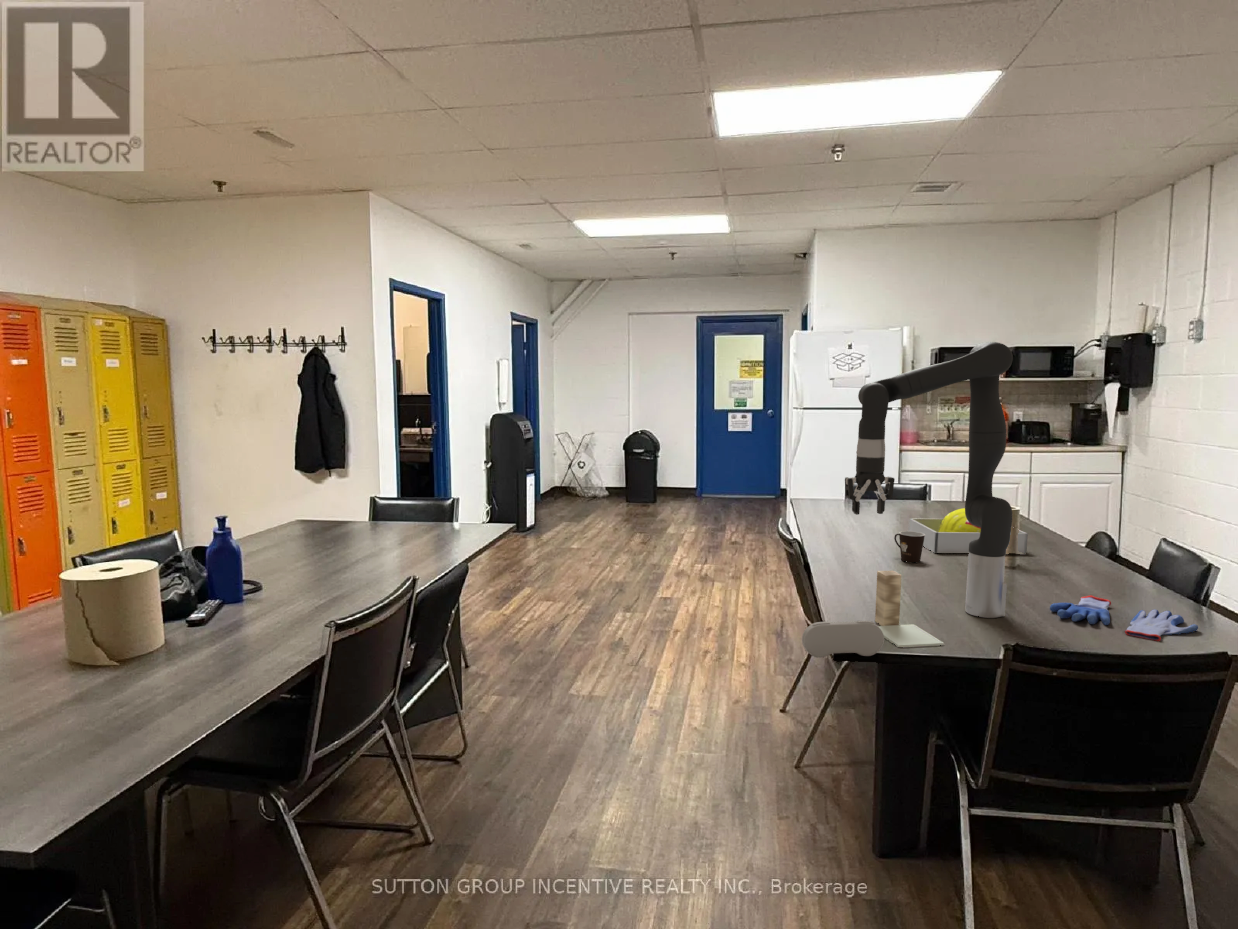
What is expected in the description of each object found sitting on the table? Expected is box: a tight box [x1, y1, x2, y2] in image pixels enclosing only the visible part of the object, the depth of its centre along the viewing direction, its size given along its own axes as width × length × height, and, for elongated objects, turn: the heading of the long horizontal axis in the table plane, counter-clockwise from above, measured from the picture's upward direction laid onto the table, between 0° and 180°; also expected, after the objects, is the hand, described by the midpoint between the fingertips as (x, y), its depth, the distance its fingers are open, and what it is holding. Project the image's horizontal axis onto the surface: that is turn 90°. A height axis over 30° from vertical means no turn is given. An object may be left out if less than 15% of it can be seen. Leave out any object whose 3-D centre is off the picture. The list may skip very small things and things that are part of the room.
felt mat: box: [877, 623, 945, 648], centre depth 189 cm, size 14×12×1 cm
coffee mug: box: [894, 530, 925, 563], centre depth 268 cm, size 12×9×10 cm
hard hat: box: [938, 507, 981, 533], centre depth 290 cm, size 20×26×15 cm
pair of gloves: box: [1049, 594, 1199, 642], centre depth 201 cm, size 32×26×4 cm
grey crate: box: [907, 517, 1029, 554], centre depth 291 cm, size 34×28×8 cm
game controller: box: [801, 620, 885, 658], centre depth 176 cm, size 20×2×8 cm, turn 95°
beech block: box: [874, 570, 903, 626], centre depth 198 cm, size 4×4×14 cm
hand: (868, 513), depth 208 cm, fingers open, 6 cm apart
